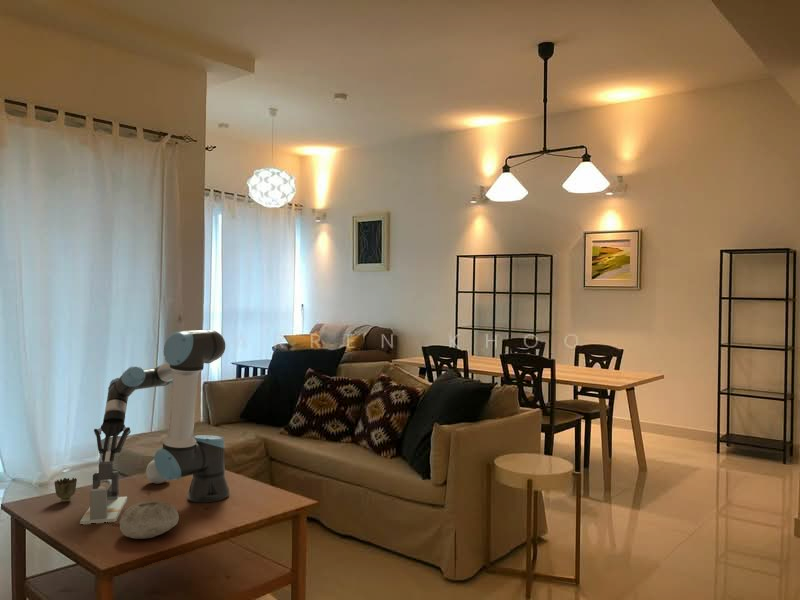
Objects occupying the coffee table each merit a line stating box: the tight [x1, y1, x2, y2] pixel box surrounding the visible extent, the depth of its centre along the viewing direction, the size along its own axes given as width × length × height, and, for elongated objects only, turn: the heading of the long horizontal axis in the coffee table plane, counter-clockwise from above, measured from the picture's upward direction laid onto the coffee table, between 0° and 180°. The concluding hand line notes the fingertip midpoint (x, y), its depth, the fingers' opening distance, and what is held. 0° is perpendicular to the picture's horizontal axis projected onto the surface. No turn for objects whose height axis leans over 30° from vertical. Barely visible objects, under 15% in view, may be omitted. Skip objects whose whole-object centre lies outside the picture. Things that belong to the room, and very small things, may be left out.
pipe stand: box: [79, 471, 128, 525], centre depth 228 cm, size 24×11×11 cm, turn 14°
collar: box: [92, 461, 120, 497], centre depth 230 cm, size 3×8×12 cm, turn 104°
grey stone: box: [119, 500, 180, 540], centre depth 207 cm, size 18×18×10 cm
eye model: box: [145, 459, 167, 484], centre depth 262 cm, size 10×10×10 cm
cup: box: [53, 477, 78, 504], centre depth 239 cm, size 8×7×8 cm
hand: (106, 468), depth 232 cm, fingers closed
